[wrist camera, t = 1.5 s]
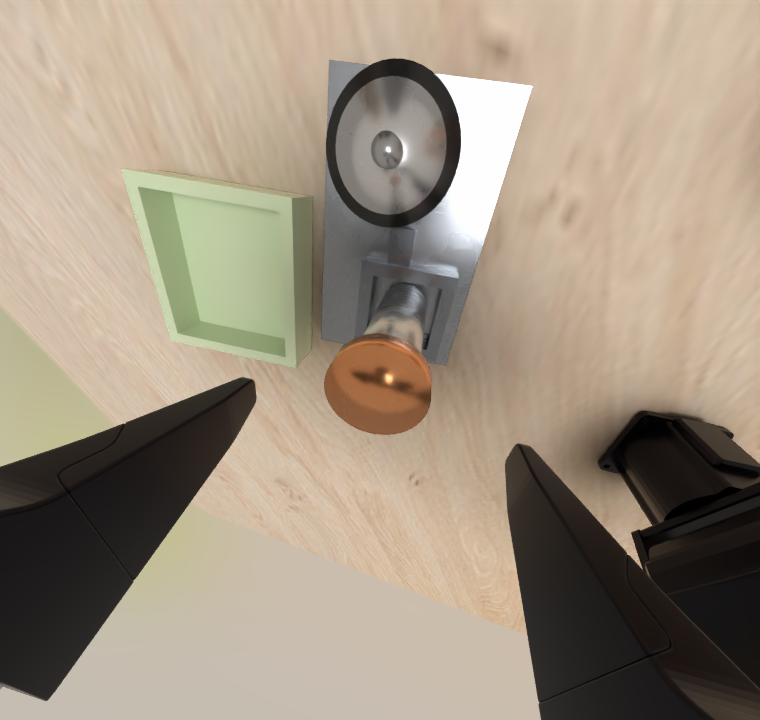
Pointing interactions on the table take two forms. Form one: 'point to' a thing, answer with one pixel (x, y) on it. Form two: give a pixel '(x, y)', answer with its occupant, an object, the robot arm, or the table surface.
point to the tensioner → (410, 190)
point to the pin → (384, 368)
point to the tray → (228, 263)
